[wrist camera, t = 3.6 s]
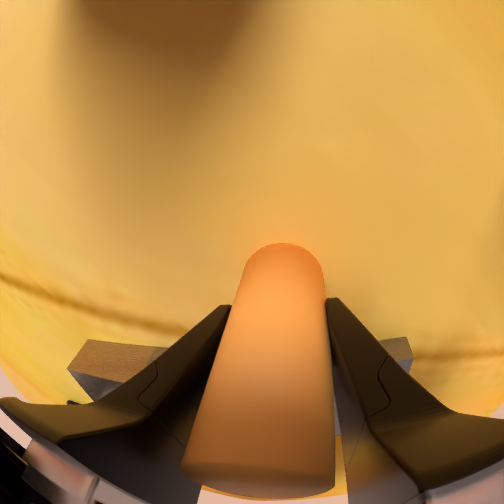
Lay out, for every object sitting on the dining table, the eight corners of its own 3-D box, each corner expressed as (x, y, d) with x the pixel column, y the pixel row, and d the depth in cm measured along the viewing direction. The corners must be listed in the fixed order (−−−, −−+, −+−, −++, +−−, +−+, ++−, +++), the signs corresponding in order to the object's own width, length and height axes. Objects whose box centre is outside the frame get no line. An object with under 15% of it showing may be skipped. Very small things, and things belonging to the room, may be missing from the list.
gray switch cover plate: (301, 420, 17) (297, 468, 13) (135, 404, 20) (118, 439, 16) (293, 348, 13) (288, 416, 10) (88, 339, 16) (59, 378, 13)
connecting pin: (324, 307, 11) (330, 497, 4) (251, 312, 12) (206, 491, 5) (320, 239, 10) (341, 464, 3) (236, 247, 11) (153, 448, 4)
